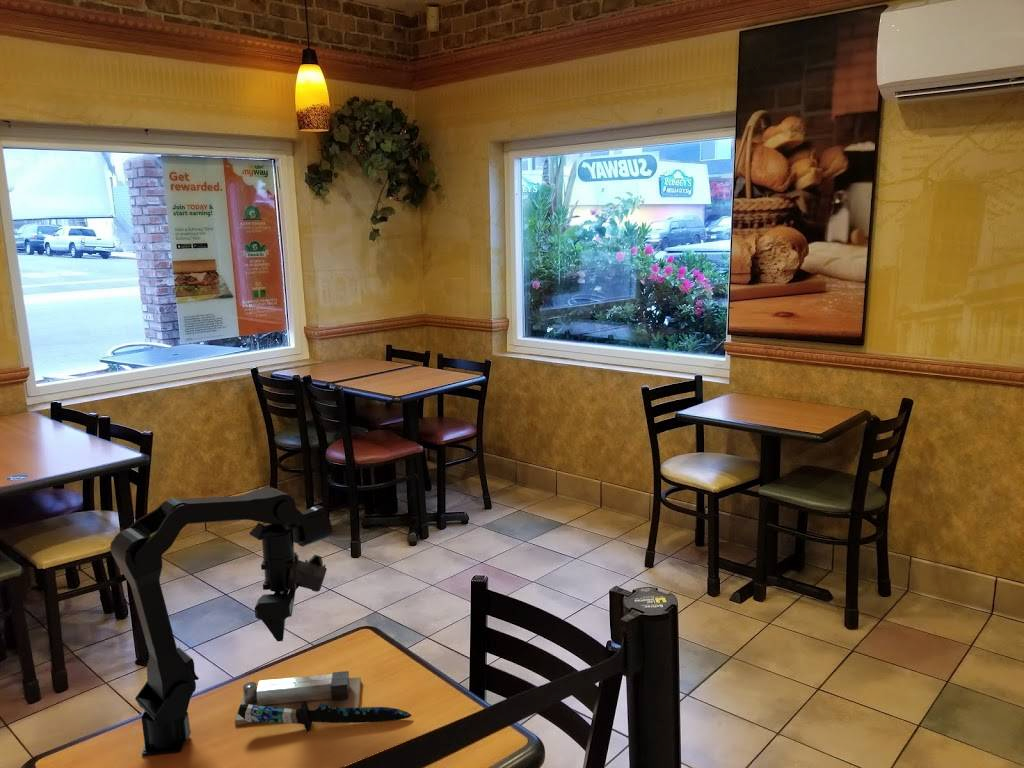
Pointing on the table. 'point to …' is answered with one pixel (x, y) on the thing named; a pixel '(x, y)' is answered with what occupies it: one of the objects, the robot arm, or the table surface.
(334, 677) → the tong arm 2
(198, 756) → the table surface
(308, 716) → the knife
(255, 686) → the tong hinge
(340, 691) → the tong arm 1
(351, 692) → the flat board
